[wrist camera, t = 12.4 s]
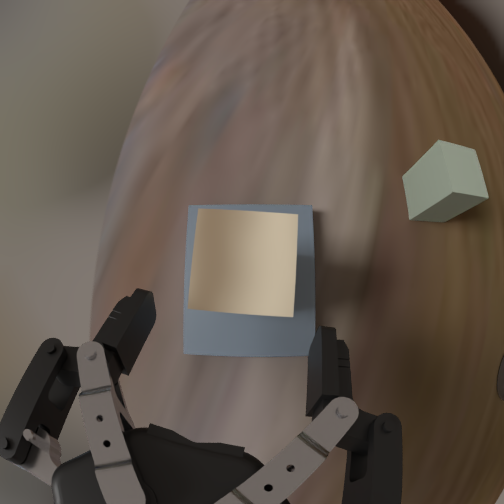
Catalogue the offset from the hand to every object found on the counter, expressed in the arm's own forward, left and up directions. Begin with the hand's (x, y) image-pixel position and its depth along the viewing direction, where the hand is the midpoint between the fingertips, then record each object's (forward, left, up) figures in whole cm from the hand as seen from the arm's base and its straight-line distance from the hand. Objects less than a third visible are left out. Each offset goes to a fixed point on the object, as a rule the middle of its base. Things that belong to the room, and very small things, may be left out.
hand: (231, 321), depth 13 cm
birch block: (-1, -3, -10) cm, 10 cm away
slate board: (0, -3, -12) cm, 12 cm away
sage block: (-19, -11, -12) cm, 25 cm away
